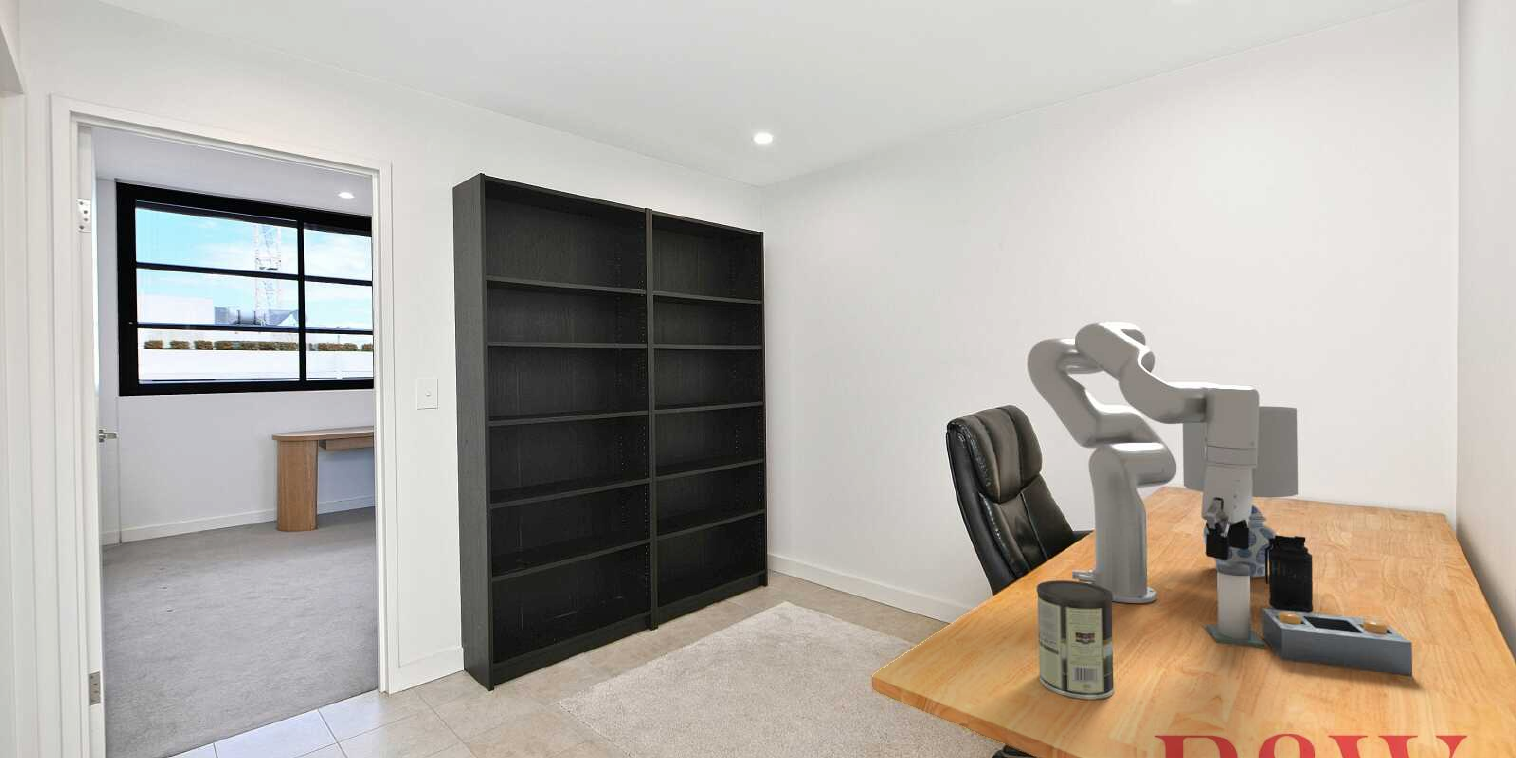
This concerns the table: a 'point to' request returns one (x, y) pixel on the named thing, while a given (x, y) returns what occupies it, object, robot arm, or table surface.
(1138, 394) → the robot arm
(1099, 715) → the table surface
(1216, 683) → the table surface
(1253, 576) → the lamp
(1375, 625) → the plunger right
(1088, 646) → the coffee can
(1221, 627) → the ball
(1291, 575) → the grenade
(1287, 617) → the plunger left
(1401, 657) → the housing
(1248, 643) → the mat
